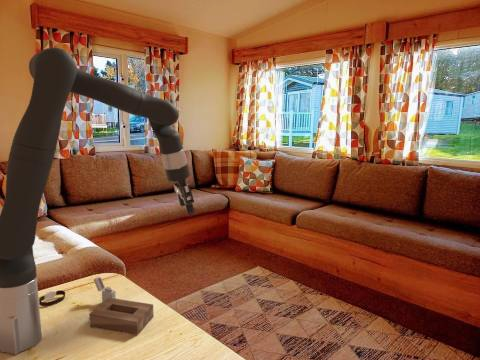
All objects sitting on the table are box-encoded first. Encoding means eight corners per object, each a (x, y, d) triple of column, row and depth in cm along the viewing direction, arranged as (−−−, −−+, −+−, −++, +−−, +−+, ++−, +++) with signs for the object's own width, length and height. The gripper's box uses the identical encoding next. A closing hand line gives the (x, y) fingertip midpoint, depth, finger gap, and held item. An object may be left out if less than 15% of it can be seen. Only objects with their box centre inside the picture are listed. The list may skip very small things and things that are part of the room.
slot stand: (137, 335, 95) (137, 321, 94) (90, 326, 98) (89, 313, 98) (153, 316, 104) (153, 304, 103) (109, 309, 107) (108, 297, 107)
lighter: (116, 303, 111) (115, 280, 109) (112, 306, 109) (111, 282, 108) (98, 298, 113) (97, 275, 112) (94, 301, 112) (93, 277, 110)
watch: (61, 295, 116) (61, 284, 115) (68, 300, 113) (68, 289, 112) (36, 304, 110) (35, 293, 109) (43, 309, 107) (42, 298, 106)
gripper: (159, 163, 118) (171, 206, 124) (170, 172, 105) (182, 220, 111) (180, 156, 120) (191, 199, 126) (193, 165, 108) (204, 212, 114)
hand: (187, 209), depth 119 cm, fingers open, 8 cm apart
